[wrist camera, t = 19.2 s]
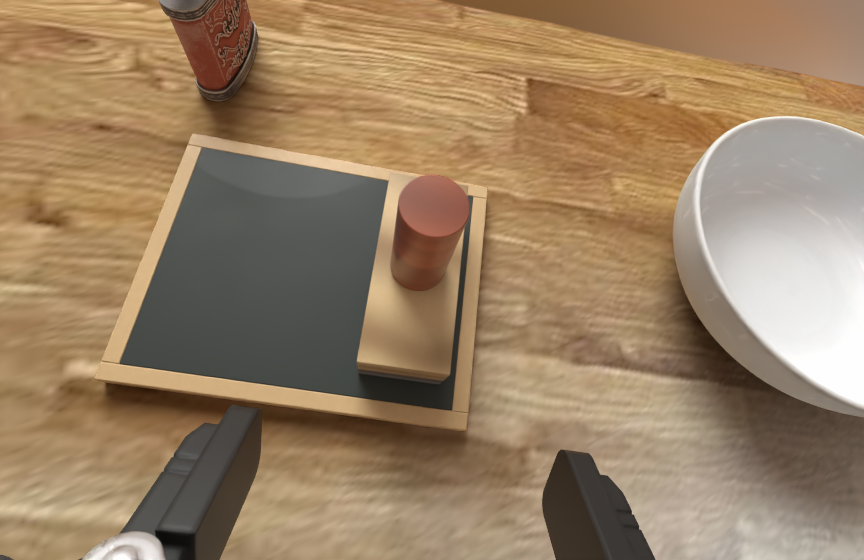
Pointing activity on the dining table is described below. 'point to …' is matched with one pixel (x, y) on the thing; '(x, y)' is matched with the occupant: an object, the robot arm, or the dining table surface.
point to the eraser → (415, 280)
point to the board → (278, 289)
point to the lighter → (215, 42)
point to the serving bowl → (781, 255)
